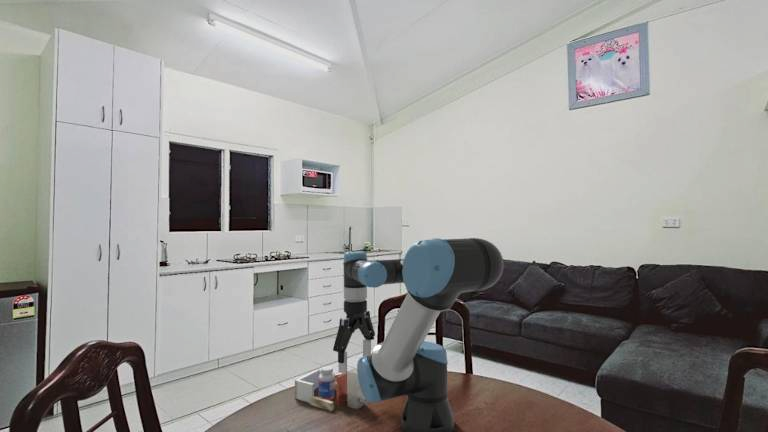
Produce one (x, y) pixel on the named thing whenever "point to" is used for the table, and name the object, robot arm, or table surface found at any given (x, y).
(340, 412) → the table surface
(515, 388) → the table surface
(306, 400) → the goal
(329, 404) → the lane rails
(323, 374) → the pill bottle
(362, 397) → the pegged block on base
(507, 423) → the table surface
